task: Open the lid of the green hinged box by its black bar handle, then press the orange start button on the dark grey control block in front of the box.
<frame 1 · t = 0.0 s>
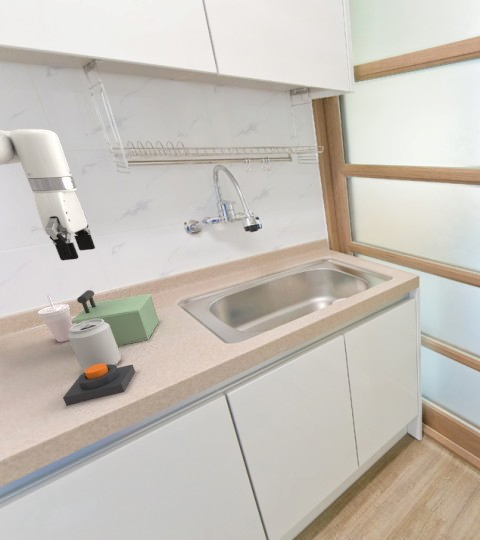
hand: (79, 254, 84), 26 cm above the worktop, tool pointing down, fingers open, 9 cm apart
start button: (96, 371, 73), point 4 cm above the worktop, slide at 0.1 cm
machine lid: (111, 299, 93), point 12 cm above the worktop, hinge at 0.0°
can: (103, 366, 83), on the worktop
control block: (103, 387, 75), on the worktop
green hinged box: (126, 335, 97), on the worktop
smoothie: (66, 338, 96), on the worktop
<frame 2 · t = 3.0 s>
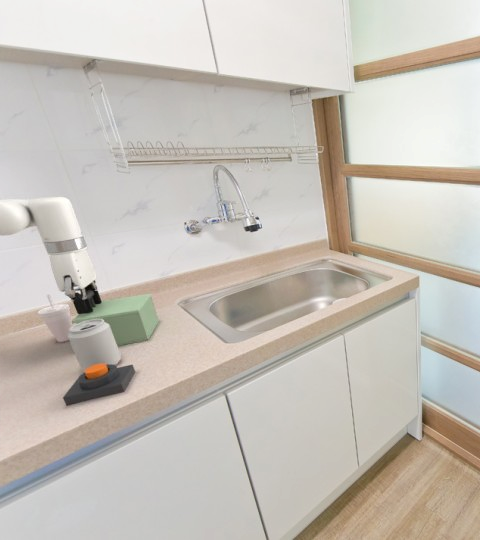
hand: (90, 307, 92), 10 cm above the worktop, tool pointing down, fingers closed on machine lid, 5 cm apart
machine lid: (111, 299, 93), point 12 cm above the worktop, hinge at 0.0°, touching gripper
everything else where it was.
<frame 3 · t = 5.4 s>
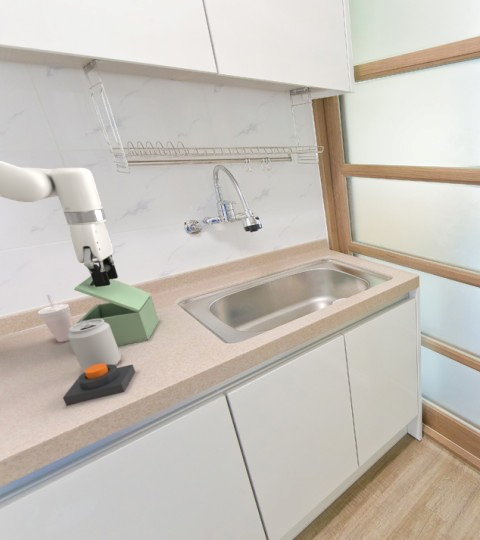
hand: (106, 281, 91), 17 cm above the worktop, tool pointing down, fingers closed on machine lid, 5 cm apart
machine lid: (120, 284, 93), point 16 cm above the worktop, hinge at 38.5°, touching gripper
everything else where it was.
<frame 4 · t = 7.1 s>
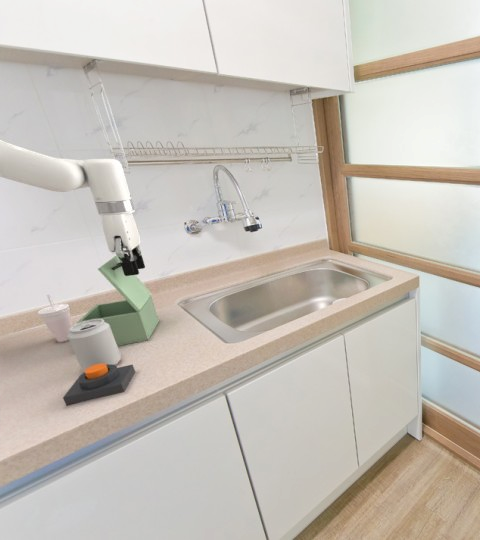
hand: (135, 271, 93), 19 cm above the worktop, tool pointing down, fingers closed on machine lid, 5 cm apart
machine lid: (136, 278, 94), point 17 cm above the worktop, hinge at 69.3°, touching gripper
everything else where it was.
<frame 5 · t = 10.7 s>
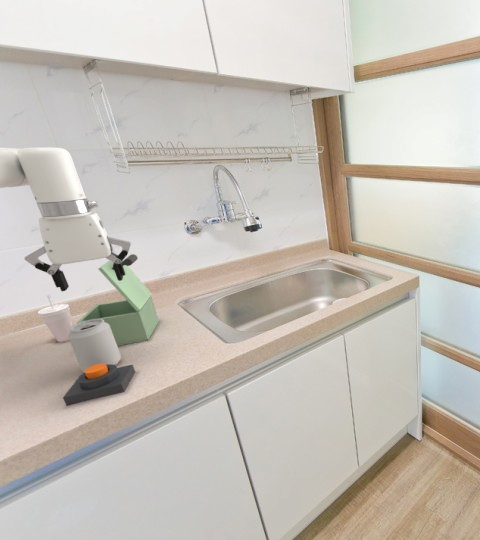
hand: (94, 284, 75), 22 cm above the worktop, tool pointing down, fingers open, 9 cm apart
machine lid: (136, 278, 94), point 17 cm above the worktop, hinge at 69.6°
everything else where it was.
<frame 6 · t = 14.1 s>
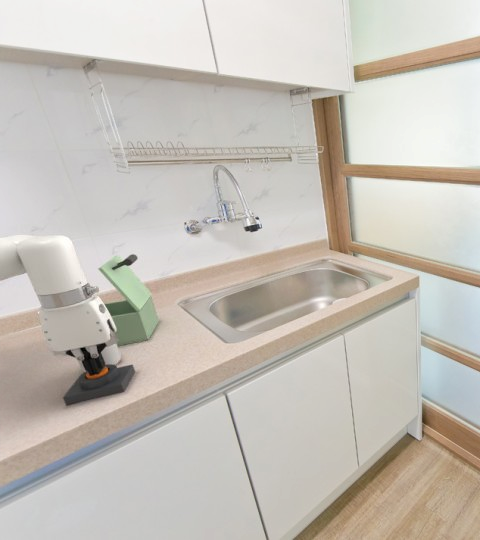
hand: (97, 371, 73), 5 cm above the worktop, tool pointing down, fingers closed
start button: (98, 374, 74), point 4 cm above the worktop, slide at -0.8 cm, touching gripper
everything else where it was.
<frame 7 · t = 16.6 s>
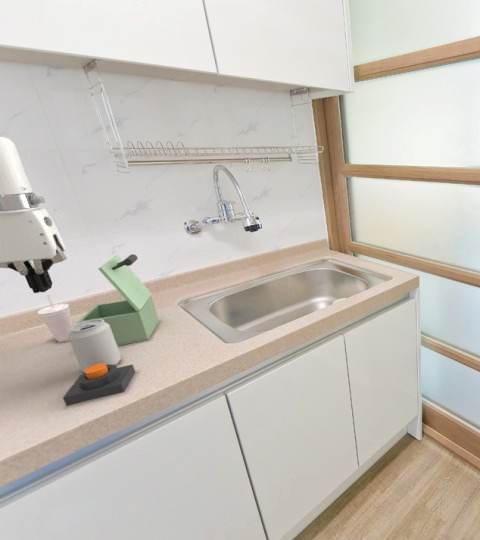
hand: (43, 290, 70), 23 cm above the worktop, tool pointing down, fingers closed
start button: (96, 371, 73), point 4 cm above the worktop, slide at 0.1 cm
everything else where it was.
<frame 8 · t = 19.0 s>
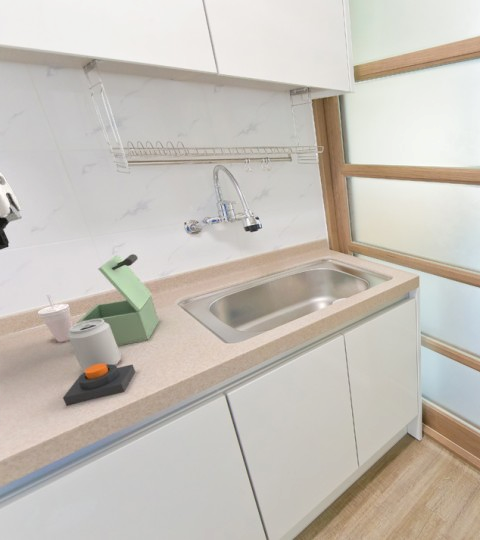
nothing on the worktop moved.
at the end: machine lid at +70° (first picture: +0°); start button pushed in 1.1 cm at the most during the clip, back to where it started at the end; start button slide at 0.1 cm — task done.
